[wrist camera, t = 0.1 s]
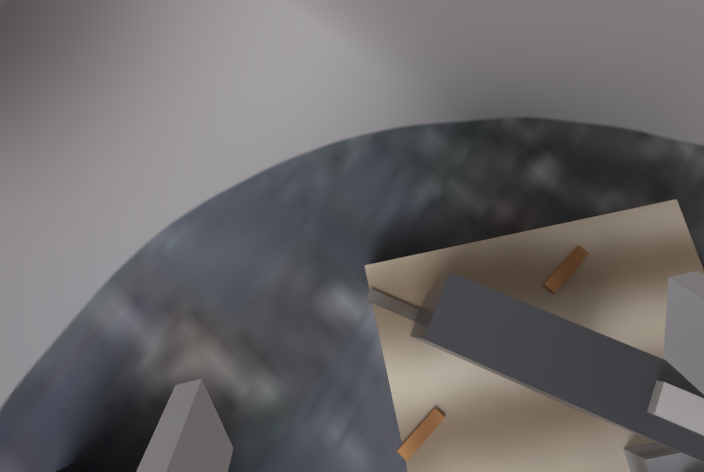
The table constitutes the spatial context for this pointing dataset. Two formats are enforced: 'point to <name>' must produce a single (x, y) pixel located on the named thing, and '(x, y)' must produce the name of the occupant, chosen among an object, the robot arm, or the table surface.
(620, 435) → the instrument base
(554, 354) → the dark grey block
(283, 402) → the table surface
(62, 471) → the ammunition clip
